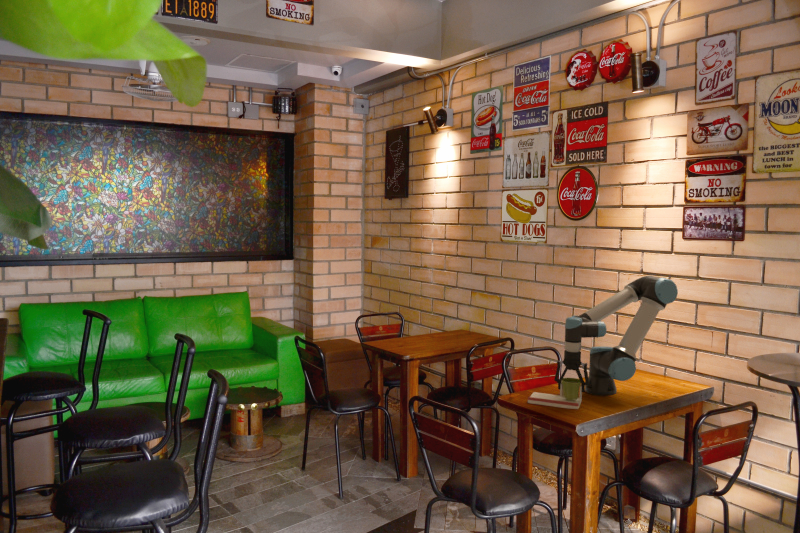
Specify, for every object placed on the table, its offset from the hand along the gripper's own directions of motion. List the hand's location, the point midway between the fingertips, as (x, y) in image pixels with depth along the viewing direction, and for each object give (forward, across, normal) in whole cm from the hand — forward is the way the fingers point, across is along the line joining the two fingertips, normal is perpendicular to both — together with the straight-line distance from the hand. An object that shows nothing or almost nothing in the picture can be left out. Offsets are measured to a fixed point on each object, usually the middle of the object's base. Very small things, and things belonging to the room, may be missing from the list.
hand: (570, 397), depth 281 cm
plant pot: (0, 0, 0) cm, 0 cm away
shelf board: (+3, +7, +2) cm, 8 cm away
